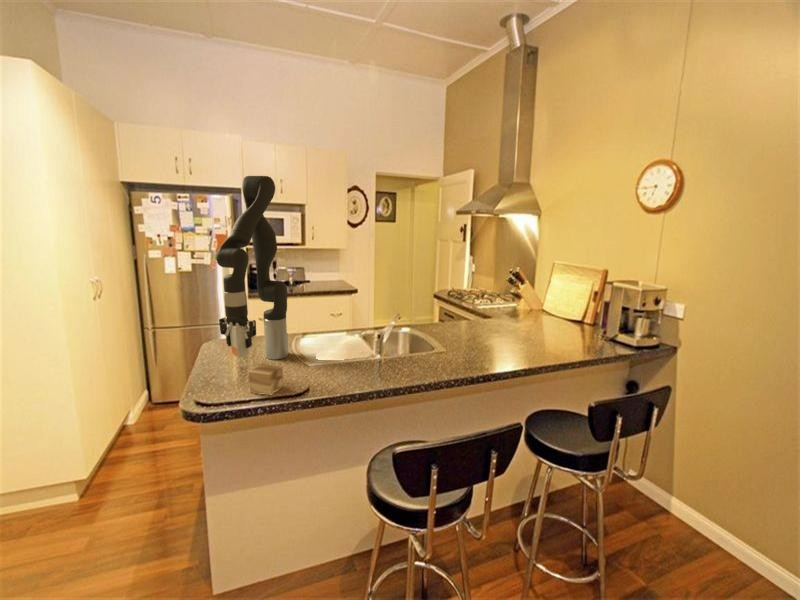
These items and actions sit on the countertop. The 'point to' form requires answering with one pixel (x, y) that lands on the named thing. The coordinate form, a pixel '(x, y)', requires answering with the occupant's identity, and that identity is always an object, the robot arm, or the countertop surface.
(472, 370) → the countertop surface
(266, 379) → the tan square block
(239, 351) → the skincare box
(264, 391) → the block lower
